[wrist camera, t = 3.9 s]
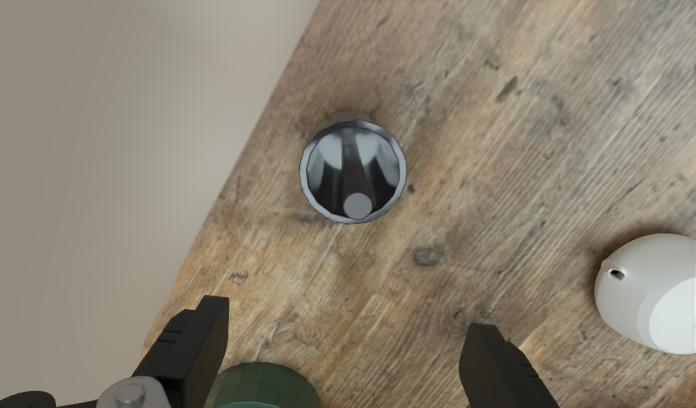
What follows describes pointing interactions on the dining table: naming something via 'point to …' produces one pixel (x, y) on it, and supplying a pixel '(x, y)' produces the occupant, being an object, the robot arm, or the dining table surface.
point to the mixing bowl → (261, 388)
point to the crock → (376, 155)
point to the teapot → (651, 292)
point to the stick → (354, 185)
